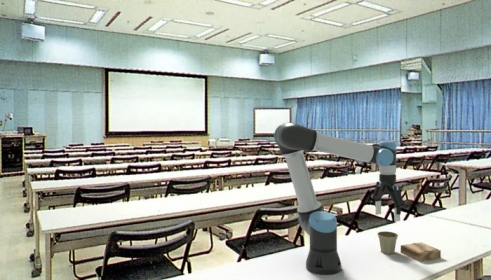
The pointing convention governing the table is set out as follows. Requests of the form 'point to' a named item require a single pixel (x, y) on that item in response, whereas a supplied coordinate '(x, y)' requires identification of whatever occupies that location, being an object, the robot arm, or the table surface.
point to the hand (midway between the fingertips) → (387, 217)
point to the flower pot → (387, 241)
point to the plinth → (420, 251)
